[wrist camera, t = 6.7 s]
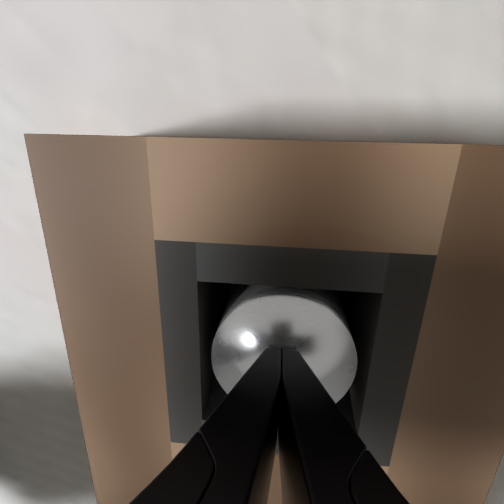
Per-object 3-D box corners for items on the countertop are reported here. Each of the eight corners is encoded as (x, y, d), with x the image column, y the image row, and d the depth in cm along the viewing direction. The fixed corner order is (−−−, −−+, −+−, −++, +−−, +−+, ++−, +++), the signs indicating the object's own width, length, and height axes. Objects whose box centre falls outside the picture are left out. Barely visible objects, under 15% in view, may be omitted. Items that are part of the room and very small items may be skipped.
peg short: (237, 322, 14) (212, 411, 9) (238, 237, 12) (209, 292, 8) (327, 329, 13) (347, 425, 9) (337, 242, 12) (367, 303, 8)
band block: (167, 529, 19) (128, 657, 14) (128, 136, 12) (23, 133, 7) (375, 558, 18) (406, 707, 13) (473, 145, 11) (620, 147, 6)
